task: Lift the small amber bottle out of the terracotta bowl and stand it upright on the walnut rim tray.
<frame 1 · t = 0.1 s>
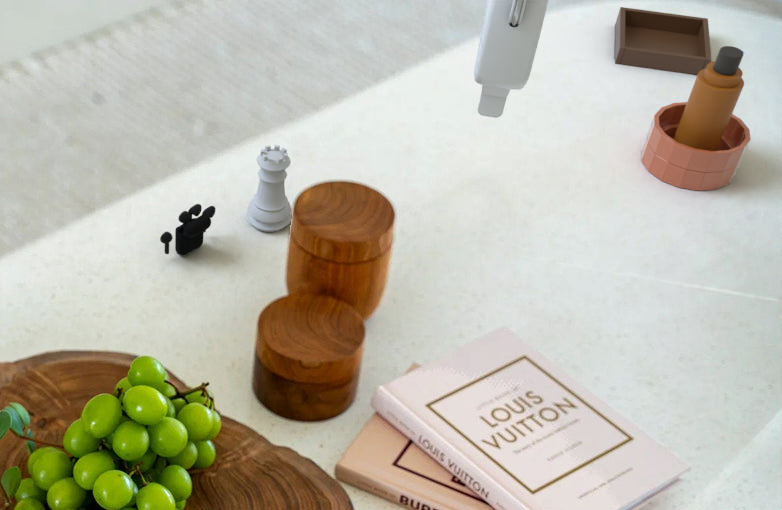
hand: (494, 79, 88), 24 cm above the table, tool pointing down, fingers open, 8 cm apart
tray: (658, 52, 138), on the table
wireless earbuds: (192, 254, 111), on the table
bottle: (687, 163, 121), resting on bowl
bowl: (685, 167, 121), on the table
rook chess piece: (268, 221, 115), on the table
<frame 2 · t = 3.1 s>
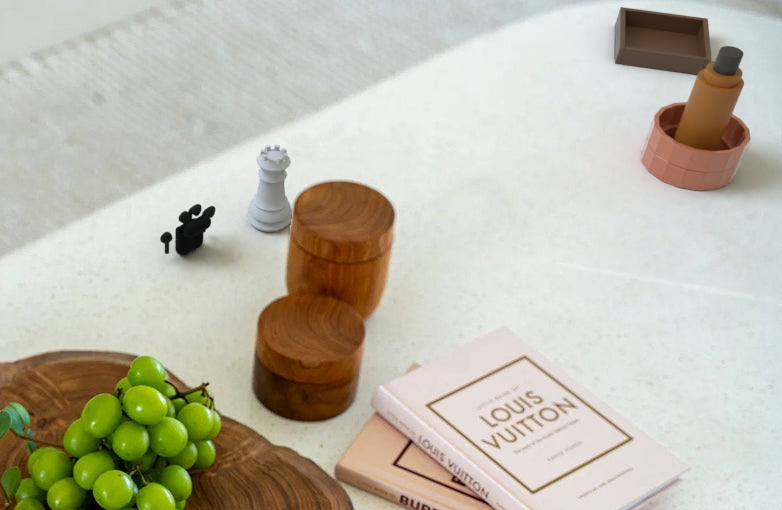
nothing on the table moved.
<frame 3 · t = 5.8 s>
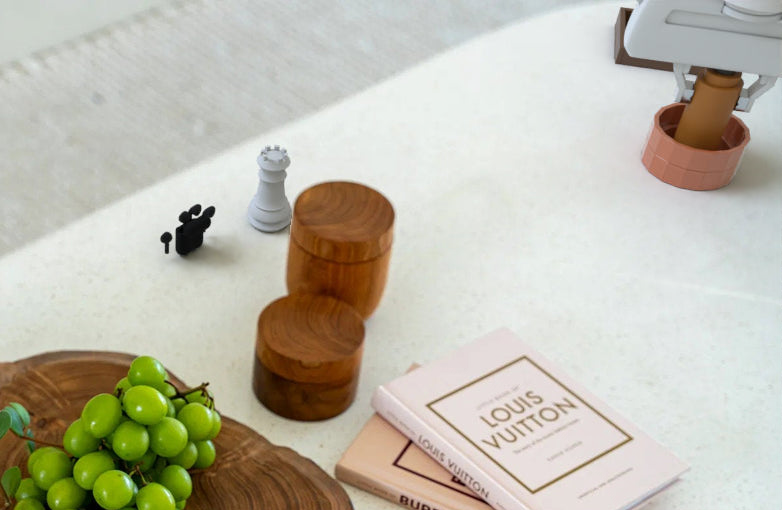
hand: (711, 104, 116), 8 cm above the table, tool pointing down, fingers closed on bottle, 4 cm apart
bottle: (687, 163, 121), point 1 cm above the table, touching bowl, gripper
everything else where it was.
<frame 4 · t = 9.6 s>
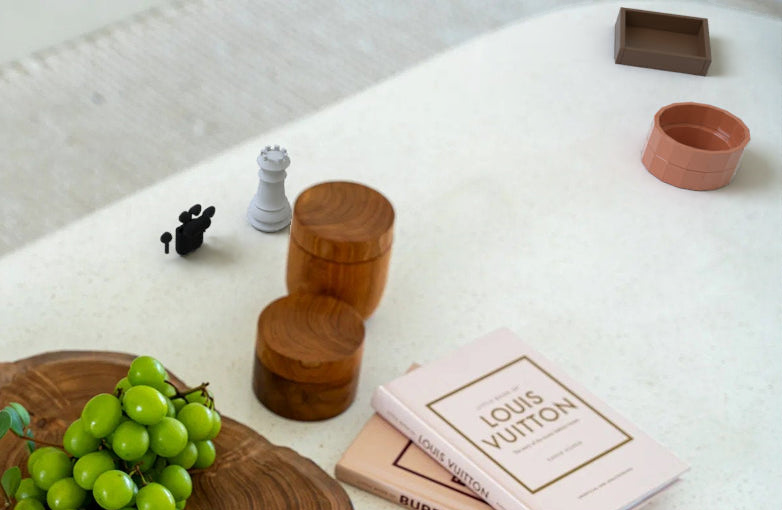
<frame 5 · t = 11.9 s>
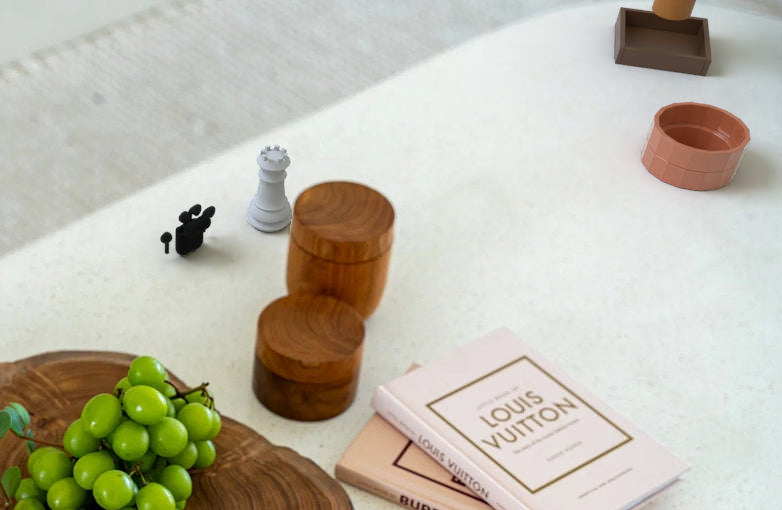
bottle: (671, 11, 134), point 5 cm above the table, touching gripper
everything else where it was.
when the fingers open (8 cm above the table, at t = 13.5 s): bottle stays where it is, resting on tray.
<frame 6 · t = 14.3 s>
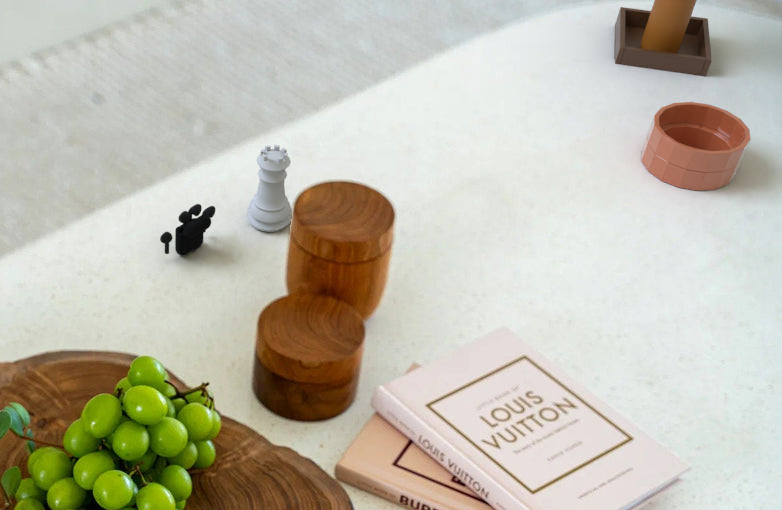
bottle: (658, 48, 137), resting on tray
everything else where it was.
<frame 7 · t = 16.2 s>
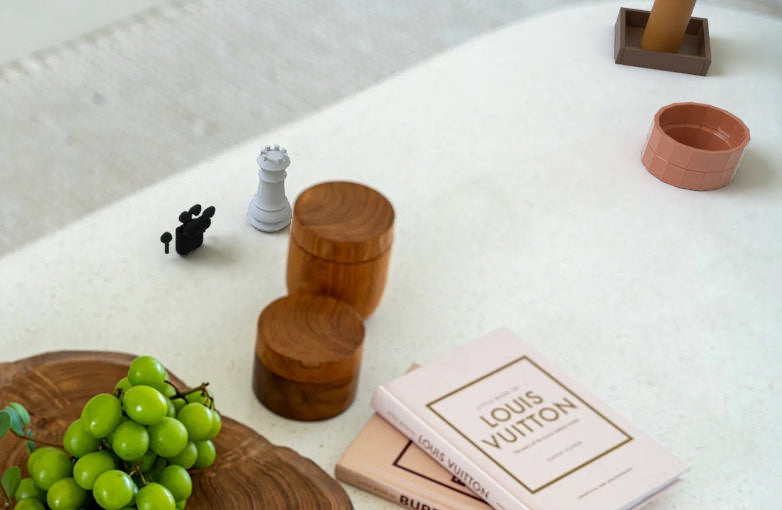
nothing on the table moved.
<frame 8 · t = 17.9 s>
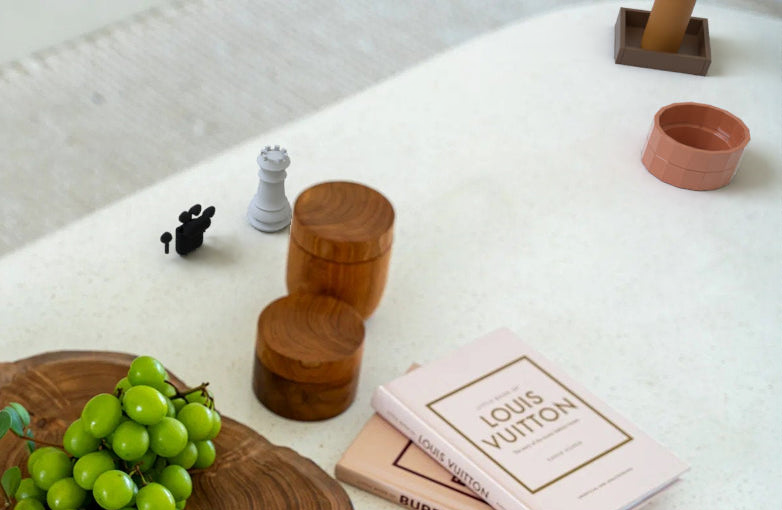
nothing on the table moved.
at the end: bottle inside the target area in the tray (0.1 cm from its centre), point 0.5 cm above the tray's base; bottle tilted 0° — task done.
